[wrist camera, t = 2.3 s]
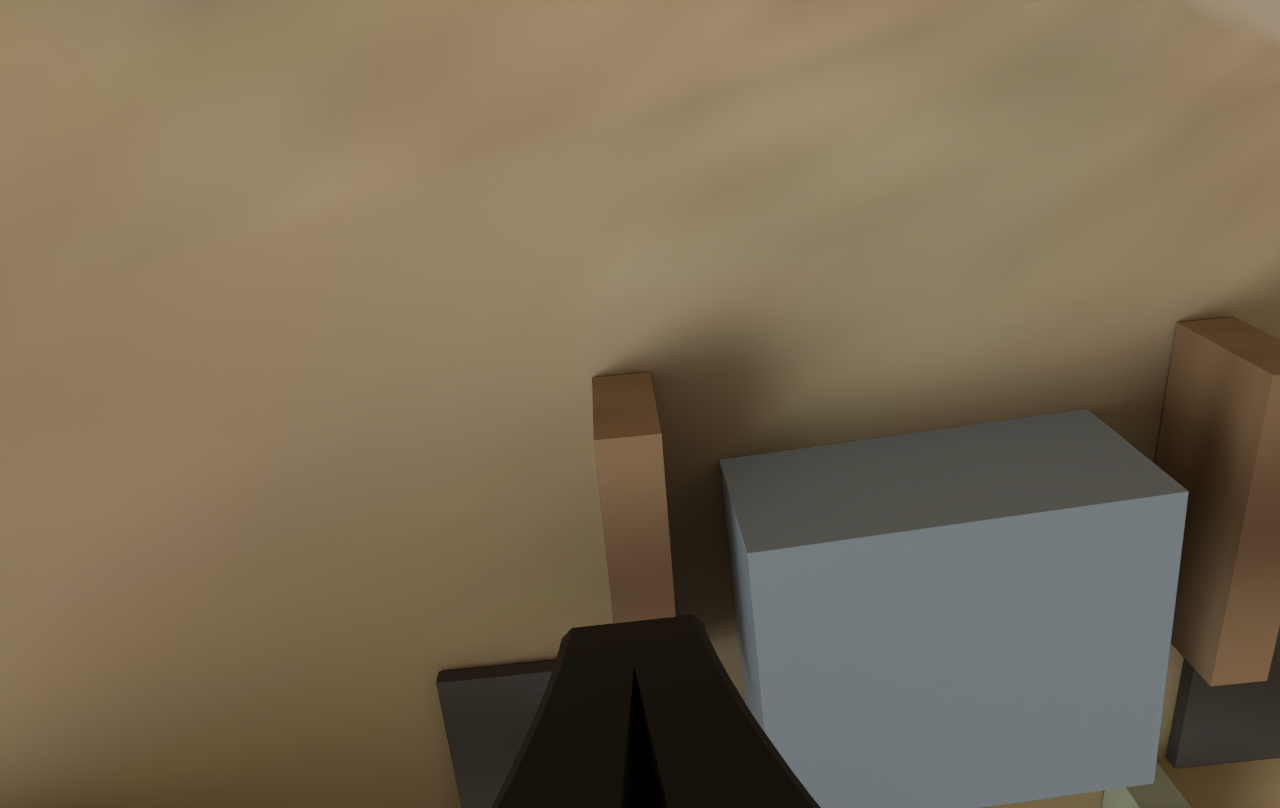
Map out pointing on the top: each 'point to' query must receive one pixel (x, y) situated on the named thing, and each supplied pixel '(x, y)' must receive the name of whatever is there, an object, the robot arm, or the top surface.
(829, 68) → the top surface
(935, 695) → the slate block
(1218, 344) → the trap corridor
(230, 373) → the top surface
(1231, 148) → the top surface
